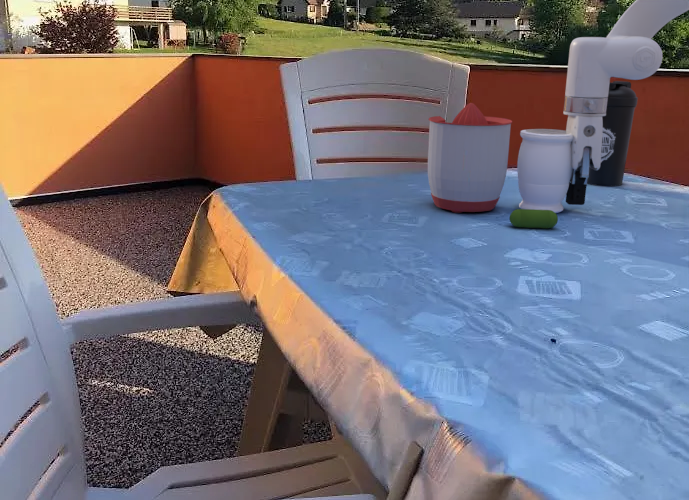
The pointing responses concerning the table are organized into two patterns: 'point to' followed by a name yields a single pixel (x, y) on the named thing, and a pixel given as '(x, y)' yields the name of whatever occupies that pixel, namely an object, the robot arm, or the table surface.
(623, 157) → the water bottle
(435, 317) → the table surface
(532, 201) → the jar
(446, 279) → the table surface
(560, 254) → the table surface
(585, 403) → the table surface
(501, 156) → the citrus juicer
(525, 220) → the pickle
